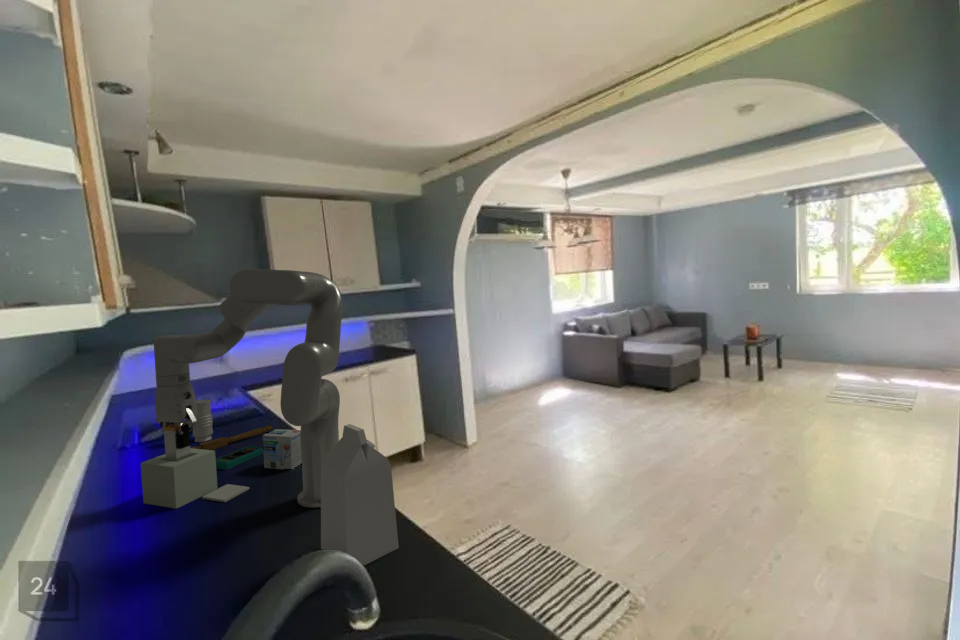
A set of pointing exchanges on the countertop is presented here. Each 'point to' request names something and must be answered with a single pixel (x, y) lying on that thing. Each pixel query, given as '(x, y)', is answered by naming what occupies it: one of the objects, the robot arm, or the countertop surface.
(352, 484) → the milk
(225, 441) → the tap handle
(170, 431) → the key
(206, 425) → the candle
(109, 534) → the countertop surface
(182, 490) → the grey hollow block
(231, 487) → the mat
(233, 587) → the countertop surface
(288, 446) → the light bulb box
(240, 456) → the digital multimeter
